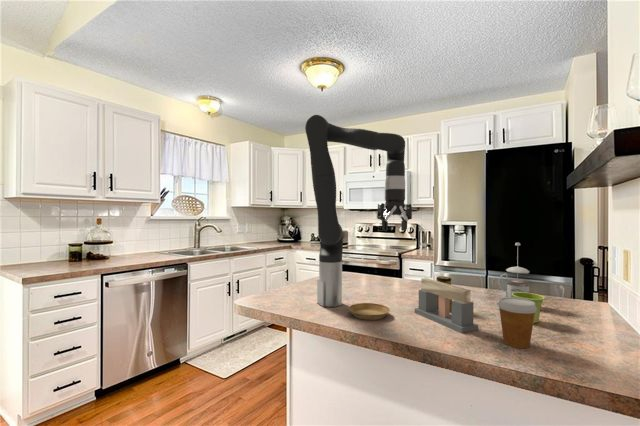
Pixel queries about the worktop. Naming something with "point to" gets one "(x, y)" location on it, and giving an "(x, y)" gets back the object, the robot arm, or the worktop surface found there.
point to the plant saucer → (369, 311)
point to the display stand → (446, 312)
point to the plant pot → (534, 298)
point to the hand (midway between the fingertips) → (394, 230)
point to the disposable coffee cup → (517, 321)
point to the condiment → (447, 281)
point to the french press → (517, 282)
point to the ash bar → (446, 290)
